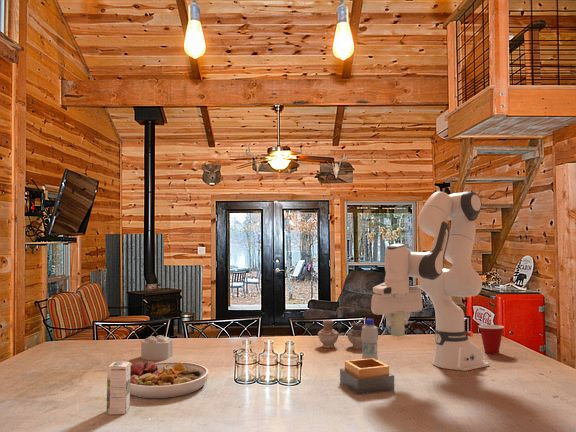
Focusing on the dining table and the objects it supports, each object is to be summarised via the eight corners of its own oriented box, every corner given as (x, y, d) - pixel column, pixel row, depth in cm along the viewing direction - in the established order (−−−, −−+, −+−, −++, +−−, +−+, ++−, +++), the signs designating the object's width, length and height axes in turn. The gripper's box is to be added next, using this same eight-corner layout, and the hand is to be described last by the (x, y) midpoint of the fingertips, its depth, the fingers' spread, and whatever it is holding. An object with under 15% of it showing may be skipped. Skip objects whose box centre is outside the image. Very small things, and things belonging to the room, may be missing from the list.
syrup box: (111, 408, 158) (111, 361, 158) (130, 407, 158) (130, 361, 159) (106, 415, 152) (106, 366, 153) (126, 414, 153) (126, 366, 153)
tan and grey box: (374, 378, 188) (374, 356, 188) (394, 390, 174) (394, 366, 175) (340, 382, 183) (340, 360, 183) (357, 394, 170) (357, 370, 170)
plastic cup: (496, 349, 232) (495, 322, 232) (509, 354, 221) (509, 327, 222) (473, 349, 230) (473, 323, 231) (486, 355, 220) (486, 328, 220)
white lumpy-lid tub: (166, 360, 215) (166, 340, 215) (136, 359, 216) (136, 339, 216) (174, 354, 225) (174, 334, 225) (146, 353, 226) (146, 334, 227)
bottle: (378, 372, 195) (378, 320, 196) (360, 371, 197) (360, 320, 197) (378, 367, 202) (378, 317, 202) (361, 366, 203) (361, 317, 204)
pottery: (317, 344, 244) (317, 319, 244) (370, 344, 242) (370, 319, 242) (317, 349, 233) (317, 323, 233) (372, 350, 231) (372, 324, 231)
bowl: (222, 379, 189) (222, 357, 189) (180, 406, 161) (180, 381, 161) (153, 371, 199) (153, 351, 199) (101, 396, 170) (102, 372, 170)
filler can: (400, 332, 191) (399, 303, 191) (407, 335, 186) (406, 305, 186) (388, 333, 189) (387, 304, 190) (395, 336, 185) (394, 306, 185)
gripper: (416, 285, 194) (416, 321, 194) (368, 288, 188) (369, 325, 188) (425, 287, 189) (426, 324, 188) (377, 290, 182) (377, 328, 182)
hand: (397, 324), depth 188 cm, fingers closed on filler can, 5 cm apart
